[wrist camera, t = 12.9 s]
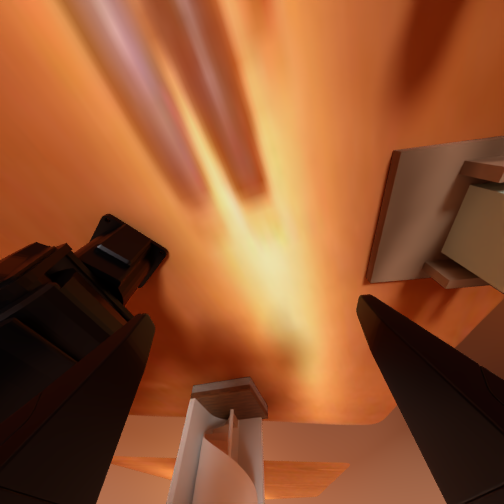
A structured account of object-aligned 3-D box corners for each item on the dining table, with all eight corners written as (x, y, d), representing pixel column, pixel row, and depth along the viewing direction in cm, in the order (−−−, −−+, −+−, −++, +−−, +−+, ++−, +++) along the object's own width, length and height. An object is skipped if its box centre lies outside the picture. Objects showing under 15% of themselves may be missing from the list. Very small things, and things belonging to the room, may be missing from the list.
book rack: (365, 277, 23) (414, 340, 16) (393, 150, 16) (497, 166, 9) (483, 266, 22) (588, 328, 15) (565, 127, 15) (819, 126, 8)
